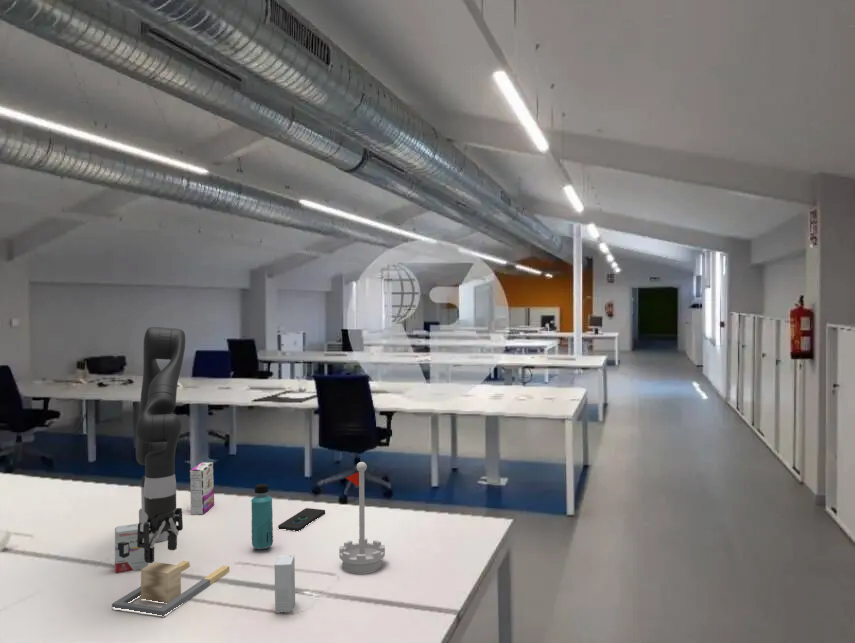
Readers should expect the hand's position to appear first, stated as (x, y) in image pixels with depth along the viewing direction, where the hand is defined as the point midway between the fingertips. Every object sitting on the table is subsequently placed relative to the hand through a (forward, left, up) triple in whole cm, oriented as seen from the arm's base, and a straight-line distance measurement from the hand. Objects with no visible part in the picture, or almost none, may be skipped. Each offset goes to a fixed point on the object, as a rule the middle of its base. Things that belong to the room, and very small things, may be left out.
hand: (161, 555), depth 161 cm
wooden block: (0, 0, -11) cm, 11 cm away
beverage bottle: (+8, +36, -11) cm, 39 cm away
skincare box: (+33, +4, -11) cm, 35 cm away
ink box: (-21, +14, -11) cm, 28 cm away
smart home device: (+8, +63, -12) cm, 65 cm away
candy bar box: (-33, +64, -11) cm, 73 cm away
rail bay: (0, +6, -11) cm, 12 cm away
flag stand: (+42, +33, -11) cm, 54 cm away
